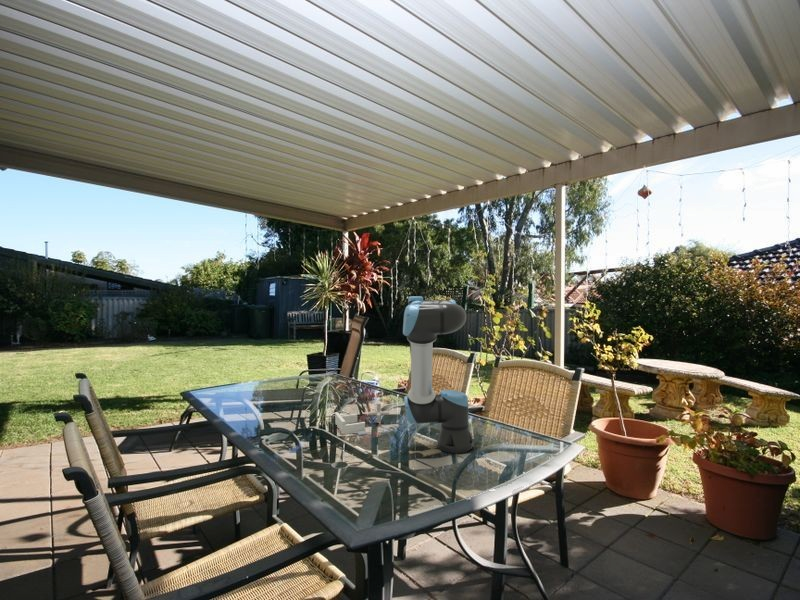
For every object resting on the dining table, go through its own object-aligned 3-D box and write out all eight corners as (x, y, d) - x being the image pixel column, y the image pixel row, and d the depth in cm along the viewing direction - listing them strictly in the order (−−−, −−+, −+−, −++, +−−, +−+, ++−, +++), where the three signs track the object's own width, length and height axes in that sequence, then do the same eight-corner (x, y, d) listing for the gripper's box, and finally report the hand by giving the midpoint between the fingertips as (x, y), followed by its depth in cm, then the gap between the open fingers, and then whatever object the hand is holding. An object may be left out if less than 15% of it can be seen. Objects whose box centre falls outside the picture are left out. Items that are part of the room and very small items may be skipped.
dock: (368, 434, 197) (367, 421, 197) (345, 438, 194) (344, 425, 193) (354, 418, 222) (353, 407, 222) (333, 421, 218) (333, 409, 218)
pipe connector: (388, 426, 208) (388, 406, 208) (368, 426, 208) (367, 406, 208) (389, 419, 218) (389, 400, 217) (370, 420, 218) (369, 401, 218)
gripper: (428, 328, 206) (428, 376, 206) (417, 326, 218) (417, 372, 218) (414, 328, 203) (414, 378, 203) (403, 326, 215) (404, 373, 216)
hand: (416, 374), depth 211 cm, fingers closed
